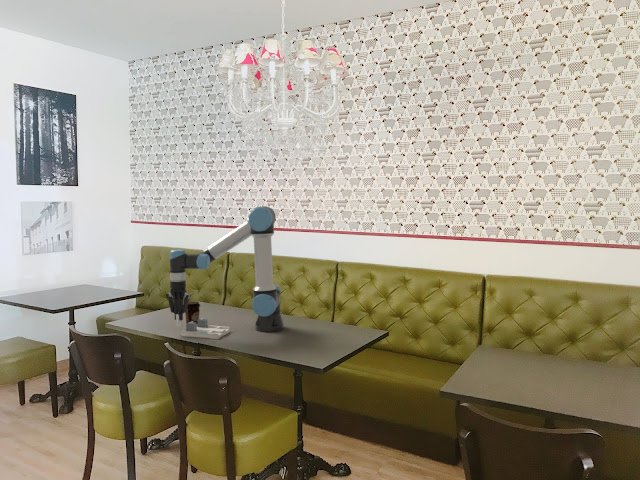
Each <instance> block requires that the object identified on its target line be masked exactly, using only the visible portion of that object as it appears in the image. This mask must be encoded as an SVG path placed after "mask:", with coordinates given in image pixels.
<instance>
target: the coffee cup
mask: <svg viewBox="0 0 640 480" xmlns="http://www.w3.org/2000/svg"><path fill="white" fill-rule="evenodd" d="M200 307H201V304H200V303H199V301H195V300H194V301H188V306H187V311H186V312H185V313H184V314H185V324H186V323H188V322H191V321H193V322H194V323H196V324H198V321H197V320H199V319H200V312H201V310H200Z"/></svg>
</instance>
